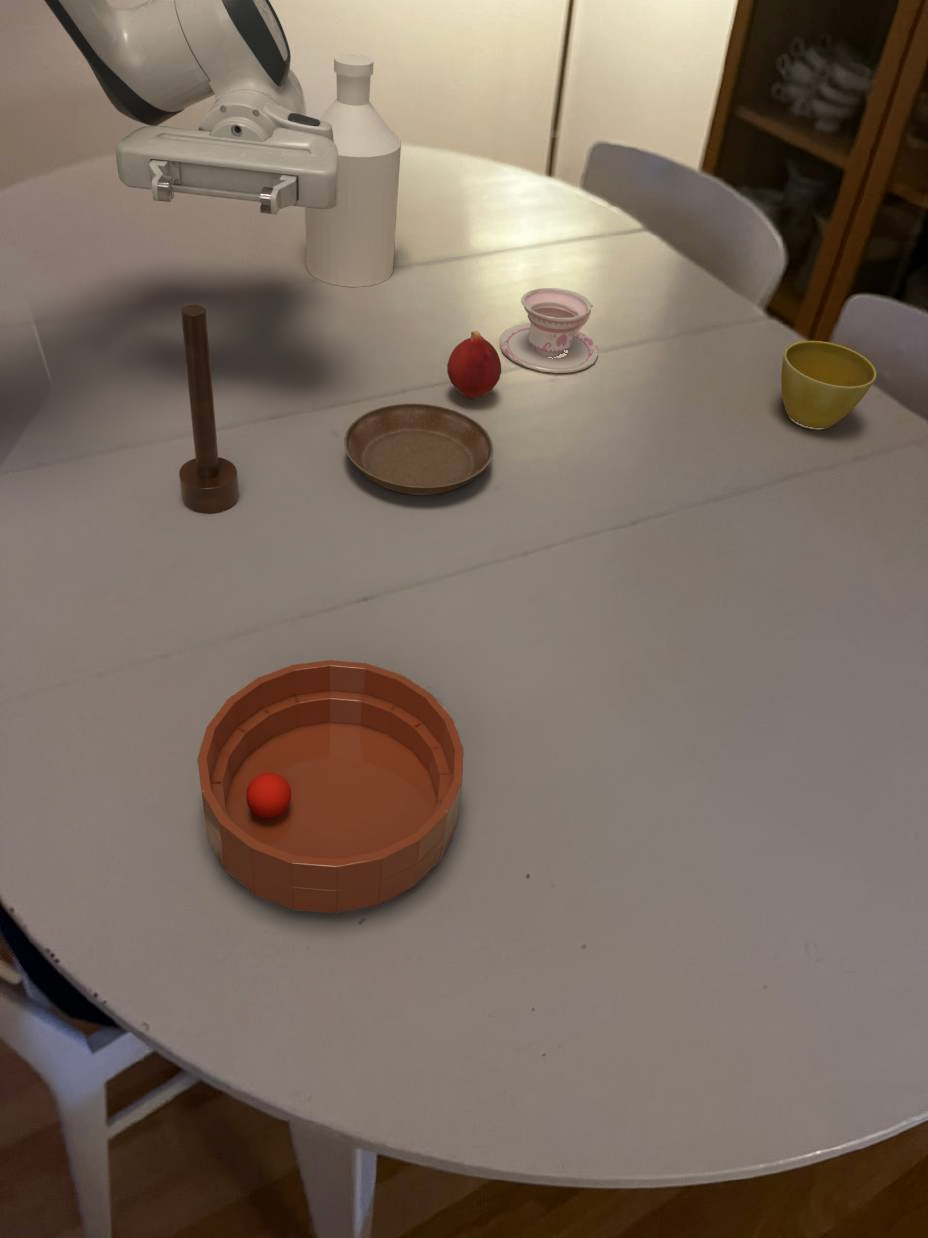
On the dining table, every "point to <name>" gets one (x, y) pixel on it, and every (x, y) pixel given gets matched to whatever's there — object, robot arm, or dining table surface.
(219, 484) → the wooden peg stand
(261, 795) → the cherry tomato
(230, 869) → the bowl
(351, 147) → the bottle
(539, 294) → the teacup
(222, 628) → the dining table surface
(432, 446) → the saucer
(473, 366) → the onion
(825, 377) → the flower pot
